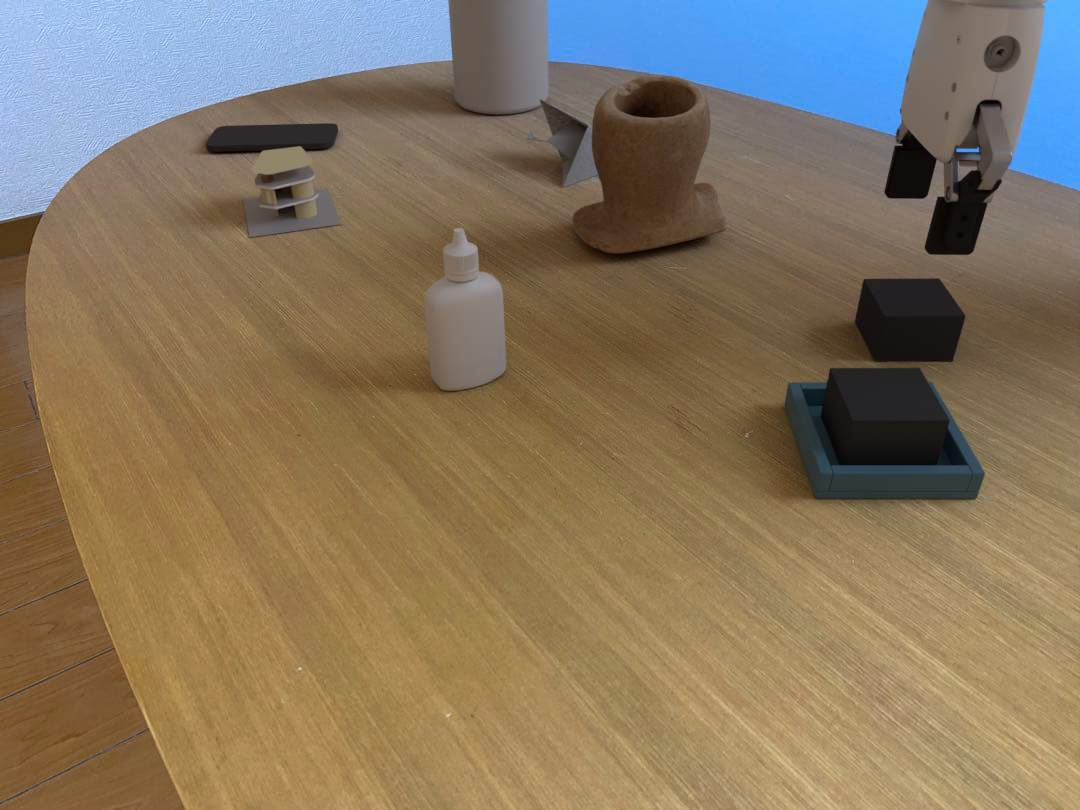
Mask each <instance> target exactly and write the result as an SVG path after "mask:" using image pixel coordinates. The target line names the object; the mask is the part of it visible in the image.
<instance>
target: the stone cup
mask: <svg viewBox="0 0 1080 810" xmlns="http://www.w3.org/2000/svg"><path fill="white" fill-rule="evenodd" d="M593 111H594V112H593V117H592V118H593V119H592V125H591V126H592V152H593V158H594V162H595V166H596V169H597V172H598V175H597V176H598V178H599V181H600V185H601V190H602V197H603V200H602V201H598V202H594V203H593V202H592V203H590V204H588V205H583V206H582V207H580V208H578V209H577V210H576V211H575V212H574V213H573V215H572V217H571V221H572V227H573V229H574V232H575V233H576V234H577V236H578V237H579V239H581V240H582V241H583V242H584V243H586V244H587V245H588V246H590V247H592V248H594V249H597V250H600V251H601V252H603V253H607V254H628V253H634V252H642V251H648V250H652V249H658V248H663V247H667V246H671V245H675V244H680V243H684V242H688V241H692V240H696V239H700V238H703V237H708V236H712V235H716V234H721V233H724V232H725V231H727V221H726V217H725V215H724V212H723V211H722V208H721V205H720V204H719V202H718V199H719V196H718V195H719V194H718V191H717V189H716V188H715V186H713V184H711V183H709V182H697V183H695V182H696V179H697V175H698V173H699V172H698V171H699V169H700V165H701V163H702V160H703V157H704V155H705V153H706V149H707V147H708V143H709V139H710V135H711V112H710V105H709V101H708V97H707V95H706V93H705V92H704V91H703V89H702V88H701V87H700V86H699V85H698V84H696V83H694V82H693V81H691V80H688V79H686V78H683V77H679V76H673V75H665V74H658V75H654V74H649V75H643V76H639V77H637V78H634V79H632V80H629V81H628V82H626V83H624V84H620V85H614V86H612V87H610V88H609V89H607V90H606V91H605V92H604V93H603V94H602V95H601V97H600V98H599V99H598V101H597V103H596V105H595V107H594V110H593Z"/></svg>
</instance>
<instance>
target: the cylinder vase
mask: <svg viewBox="0 0 1080 810" xmlns="http://www.w3.org/2000/svg"><path fill="white" fill-rule="evenodd" d="M447 2H448V17H449V31H450V32H449V33H450V47H451V60H452V74H453V76H452V77H453V88H454V99H455V102H456V103H457V104H458V105H459V106H460V107H461V108H463V109H465V110H467V111H470V112H473V113H477V114H482V115H483V114H484V115H513V114H520V113H525V112H529V111H533V110H535V109H537V108H540V107H542V105H541V102H540V99H541V100H543V101H545V102H547V100H548V99H549V25H548V24H549V21H548V20H549V19H548V17H549V16H548V15H549V14H548V0H448V1H447Z"/></svg>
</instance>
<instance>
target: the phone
mask: <svg viewBox="0 0 1080 810" xmlns="http://www.w3.org/2000/svg"><path fill="white" fill-rule="evenodd" d="M338 133H339V125H338V124H336V123H331V122H326V123H325V122H323V123H322V122H321V123H284V124H283V123H281V124H245V125H244V124H243V125H241V124H240V125H221V126H217V127H216V128H215V129H214V130H213V131H212V133H211V135H210V136H209V137H208V139H207V141H205V148H206V150H207V151H208V152H214V153H216V152H217V153H218V152H249V151H250V152H253V151H254V152H255V151H257V152H258V151H265V150H273V149H282V148H290V147H298V146H301V147H302V148H303V149H304V150H325V149H330V148H332V147H334V144H335V142H336V139H337V136H338Z"/></svg>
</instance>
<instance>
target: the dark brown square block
mask: <svg viewBox="0 0 1080 810" xmlns="http://www.w3.org/2000/svg"><path fill="white" fill-rule="evenodd" d="M928 382H929V381H928V380H927V377H926V376H925V375H924V372H923V371H922V369H921V367H830V368H829V371H828V376H827V386H826V391H825V396H824V401H823V406H822V411H821V418H822V421H823V423H824V426H825V428H826V431H827V434H828V436H829V439H830V441H831V444H832V447H833V449H834V452H835V454H836V457H837V460H838V462H839V465H937V463H938V459H939V456H940V452H941V449H942V446H943V442H944V439H945V435H946V432H947V429H948V425H949V422H950V420H949V418H948V416H947V414H946V413H945V411H944V409H943V407H942V406H941V404H940V402H939V400H938V399H937V397H936V395H935V394H934V392H933V390H932V388H931V387H930V385H929V383H928Z"/></svg>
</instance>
